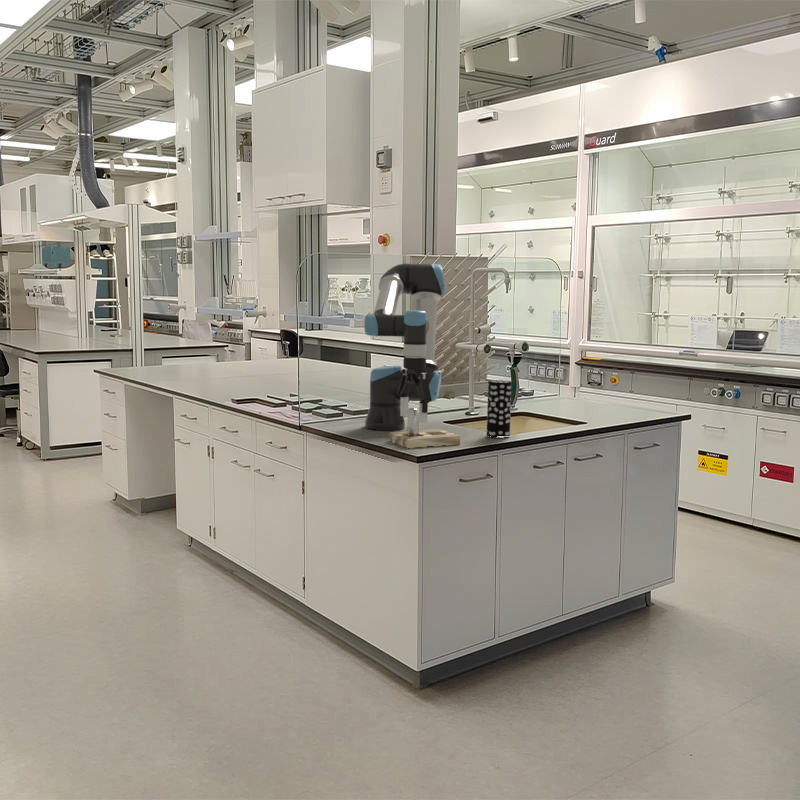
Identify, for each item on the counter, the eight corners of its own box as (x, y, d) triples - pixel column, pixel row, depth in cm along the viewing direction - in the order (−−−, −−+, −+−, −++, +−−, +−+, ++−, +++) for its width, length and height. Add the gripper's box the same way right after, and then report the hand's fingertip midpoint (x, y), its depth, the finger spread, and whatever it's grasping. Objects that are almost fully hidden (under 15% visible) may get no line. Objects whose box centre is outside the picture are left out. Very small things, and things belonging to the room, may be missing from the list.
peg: (405, 443, 271) (405, 408, 269) (415, 442, 272) (416, 407, 271) (410, 445, 267) (411, 410, 266) (420, 444, 269) (421, 409, 267)
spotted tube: (511, 438, 283) (513, 383, 280) (488, 438, 282) (490, 382, 280) (506, 434, 291) (508, 380, 289) (484, 434, 291) (486, 380, 288)
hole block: (389, 441, 273) (389, 432, 273) (439, 437, 283) (439, 429, 282) (408, 448, 261) (408, 439, 261) (460, 444, 270) (460, 435, 270)
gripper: (443, 360, 257) (441, 424, 260) (407, 353, 278) (406, 412, 282) (422, 360, 253) (421, 426, 256) (388, 353, 275) (387, 413, 278)
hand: (413, 419), depth 269 cm, fingers open, 13 cm apart
